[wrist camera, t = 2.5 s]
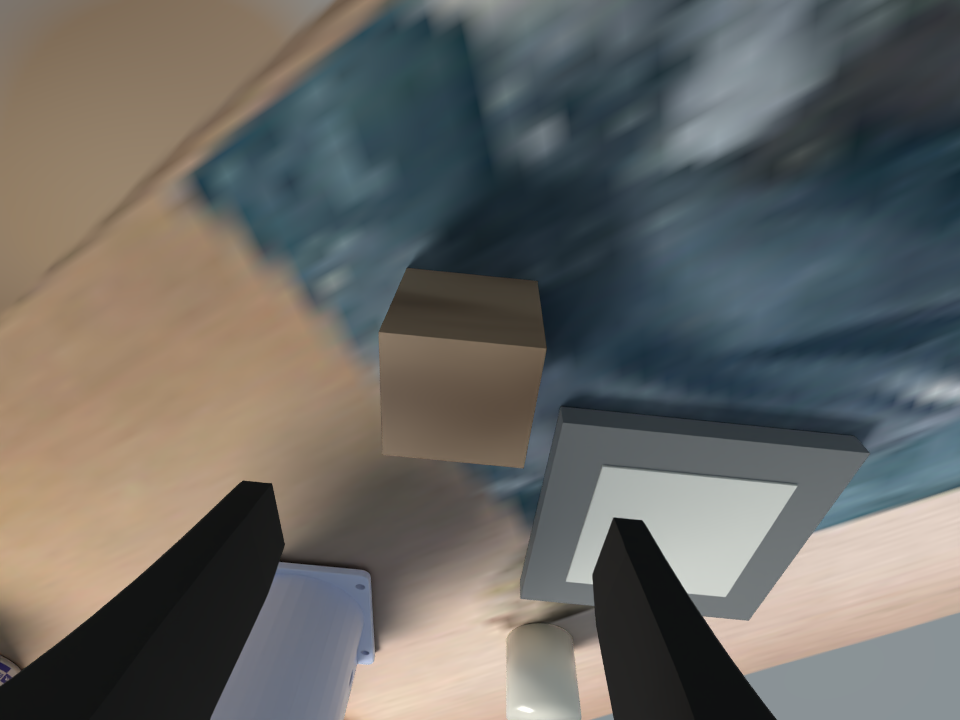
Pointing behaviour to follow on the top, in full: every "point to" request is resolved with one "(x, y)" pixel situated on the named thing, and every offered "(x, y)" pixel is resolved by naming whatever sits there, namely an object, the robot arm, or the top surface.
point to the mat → (683, 502)
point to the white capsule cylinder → (541, 674)
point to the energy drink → (7, 670)
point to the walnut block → (461, 367)
